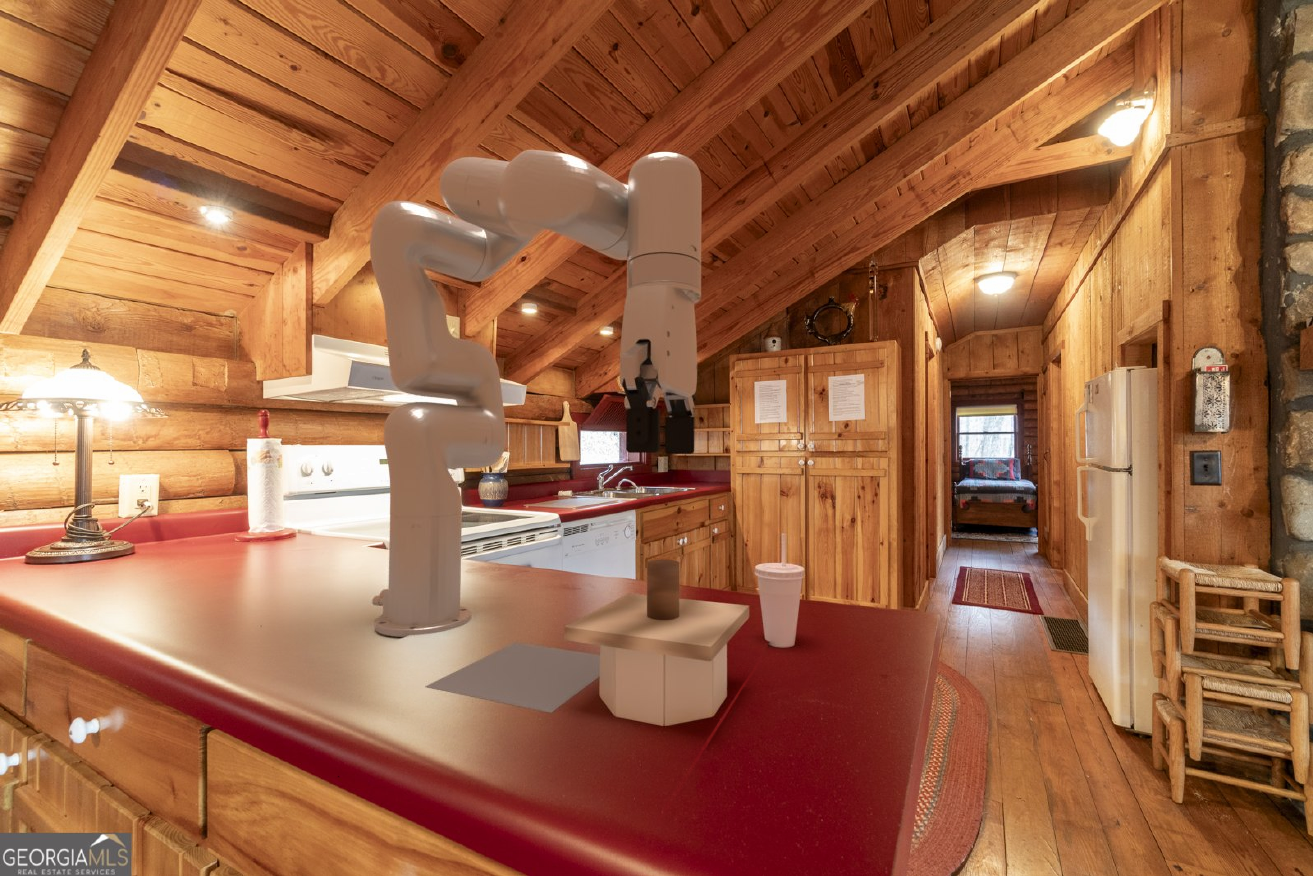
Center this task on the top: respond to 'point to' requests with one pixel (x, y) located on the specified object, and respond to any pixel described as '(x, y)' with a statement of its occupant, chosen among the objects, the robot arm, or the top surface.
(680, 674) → the bowl
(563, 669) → the mat
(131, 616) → the top surface
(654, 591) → the lid
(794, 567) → the smoothie
